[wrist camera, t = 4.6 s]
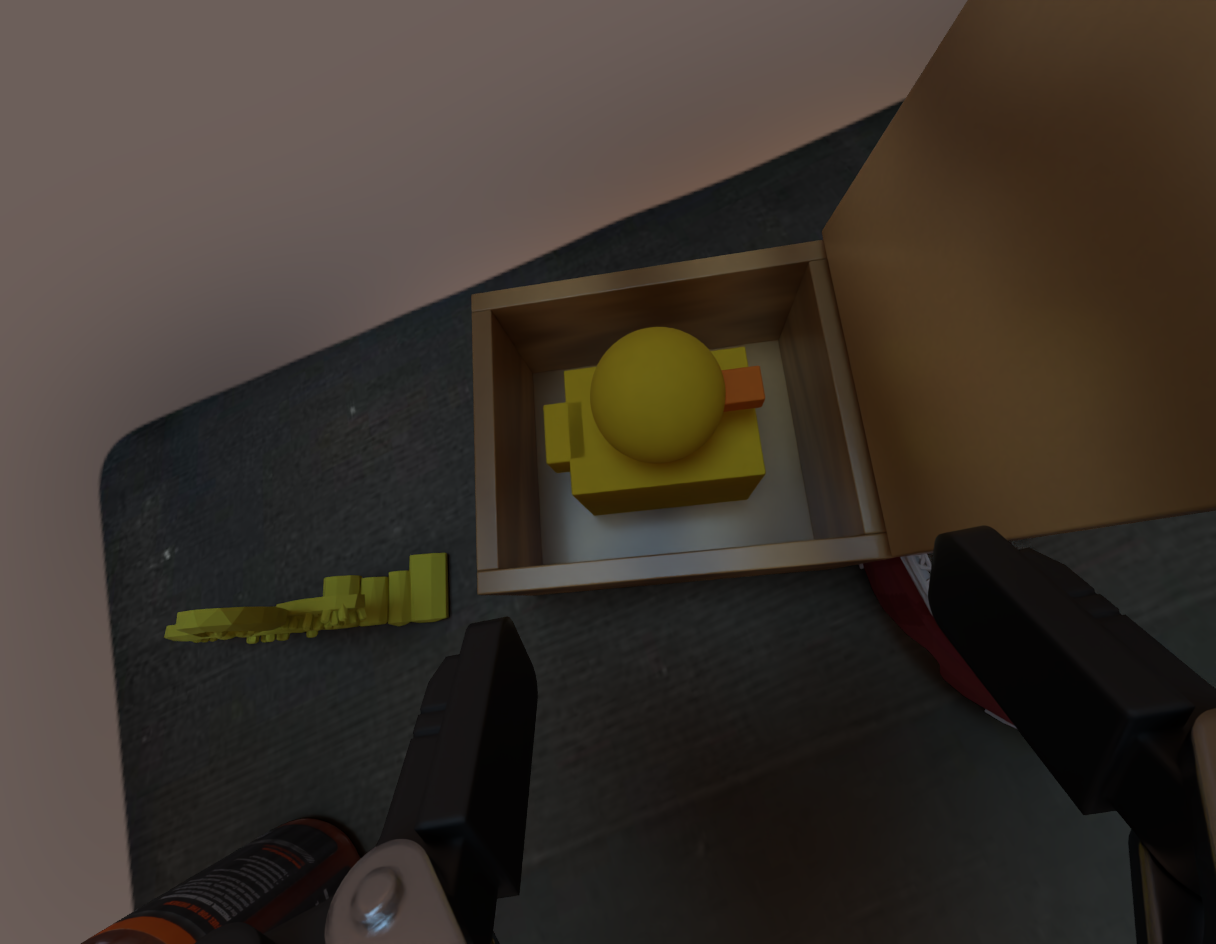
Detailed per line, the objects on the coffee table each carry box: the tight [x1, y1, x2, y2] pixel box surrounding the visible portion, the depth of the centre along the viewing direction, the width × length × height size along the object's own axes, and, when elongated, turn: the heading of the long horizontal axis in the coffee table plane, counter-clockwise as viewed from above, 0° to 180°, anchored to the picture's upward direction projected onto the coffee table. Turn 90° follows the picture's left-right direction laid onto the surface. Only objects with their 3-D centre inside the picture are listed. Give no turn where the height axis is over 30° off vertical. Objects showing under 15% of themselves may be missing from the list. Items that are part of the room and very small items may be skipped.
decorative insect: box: [164, 553, 449, 644], centre depth 22 cm, size 13×3×10 cm
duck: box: [543, 327, 766, 516], centre depth 19 cm, size 8×5×10 cm, turn 95°
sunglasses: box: [859, 554, 1017, 729], centre depth 20 cm, size 17×17×5 cm
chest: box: [471, 240, 895, 595], centre depth 21 cm, size 14×12×7 cm
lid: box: [822, 0, 1216, 557], centre depth 10 cm, size 14×12×4 cm
